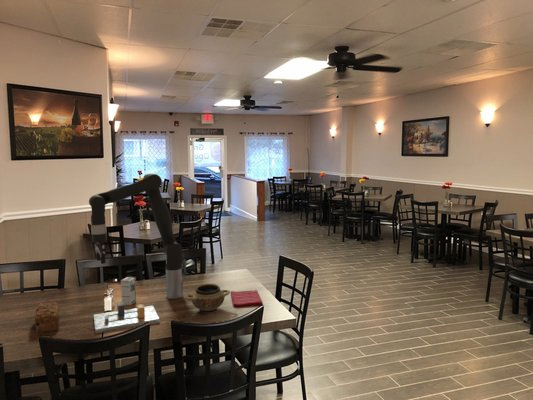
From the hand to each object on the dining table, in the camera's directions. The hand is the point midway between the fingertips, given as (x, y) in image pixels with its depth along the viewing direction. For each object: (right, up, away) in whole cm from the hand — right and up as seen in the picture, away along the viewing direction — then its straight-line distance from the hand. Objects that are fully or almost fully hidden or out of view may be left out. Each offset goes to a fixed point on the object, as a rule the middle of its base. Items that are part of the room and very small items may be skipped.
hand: (101, 261), depth 221 cm
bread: (-20, -30, -16) cm, 39 cm away
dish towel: (+78, -26, +18) cm, 84 cm away
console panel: (+18, -28, -11) cm, 35 cm away
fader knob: (+25, -26, -11) cm, 38 cm away
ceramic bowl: (+58, -27, +2) cm, 64 cm away
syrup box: (+11, -26, +13) cm, 31 cm away
